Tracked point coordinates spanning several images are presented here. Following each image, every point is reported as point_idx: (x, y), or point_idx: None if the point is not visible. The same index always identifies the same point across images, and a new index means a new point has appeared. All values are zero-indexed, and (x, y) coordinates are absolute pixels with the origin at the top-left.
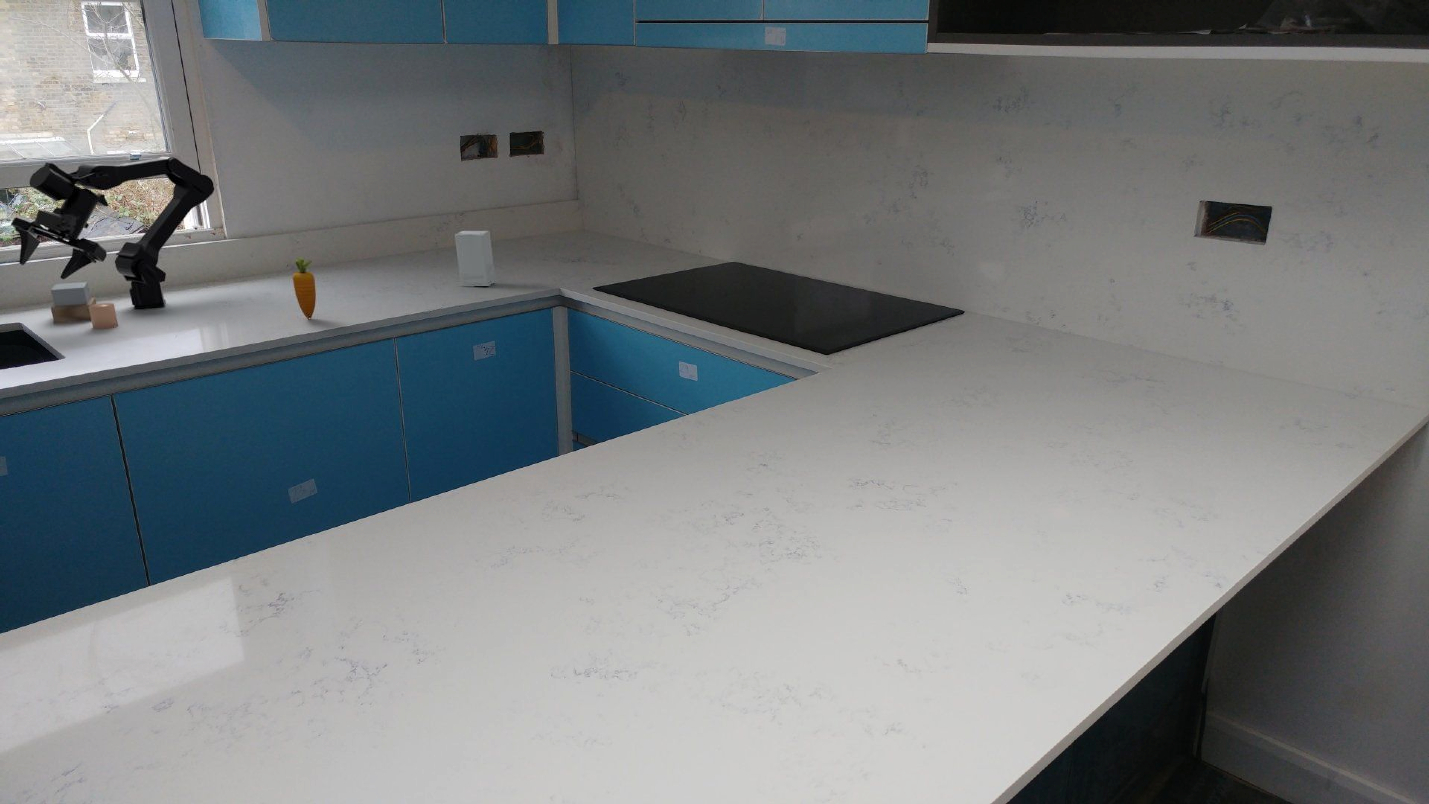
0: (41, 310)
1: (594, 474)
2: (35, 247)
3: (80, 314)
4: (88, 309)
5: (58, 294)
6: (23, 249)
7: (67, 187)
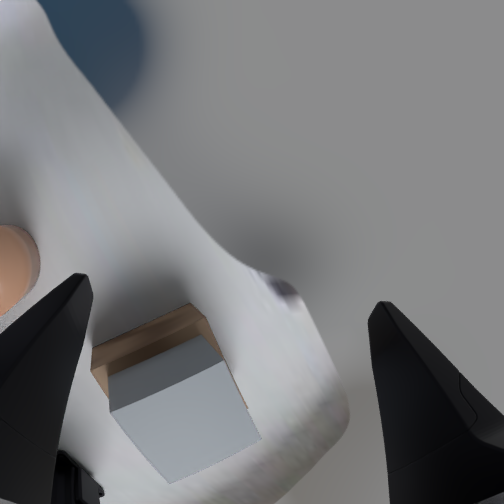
0: (296, 413)
1: None
2: (394, 475)
3: (123, 342)
4: (100, 359)
5: (195, 361)
6: (442, 372)
7: None
